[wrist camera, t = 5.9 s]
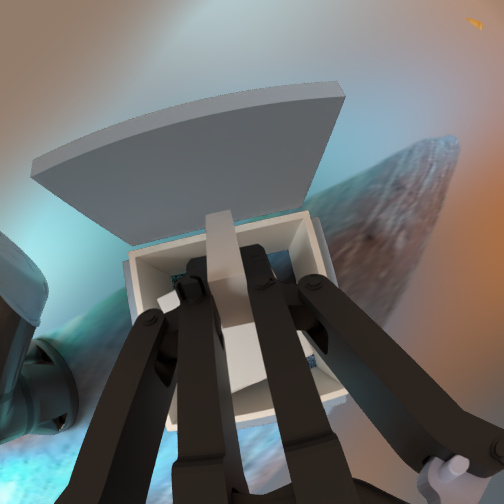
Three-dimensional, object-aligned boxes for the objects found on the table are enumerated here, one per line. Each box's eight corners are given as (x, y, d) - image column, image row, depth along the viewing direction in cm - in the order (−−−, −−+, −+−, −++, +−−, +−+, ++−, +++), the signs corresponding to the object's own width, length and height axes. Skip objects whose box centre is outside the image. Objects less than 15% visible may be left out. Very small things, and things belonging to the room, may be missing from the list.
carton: (330, 373, 33) (364, 397, 21) (188, 404, 32) (161, 440, 21) (298, 242, 37) (317, 208, 25) (159, 274, 36) (119, 254, 24)
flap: (301, 207, 25) (345, 96, 11) (132, 246, 24) (30, 177, 10) (298, 196, 25) (337, 81, 11) (131, 235, 24) (32, 160, 11)
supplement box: (260, 273, 36) (264, 243, 21) (292, 338, 34) (319, 354, 20) (193, 305, 35) (153, 296, 21) (225, 370, 33) (205, 406, 19)
